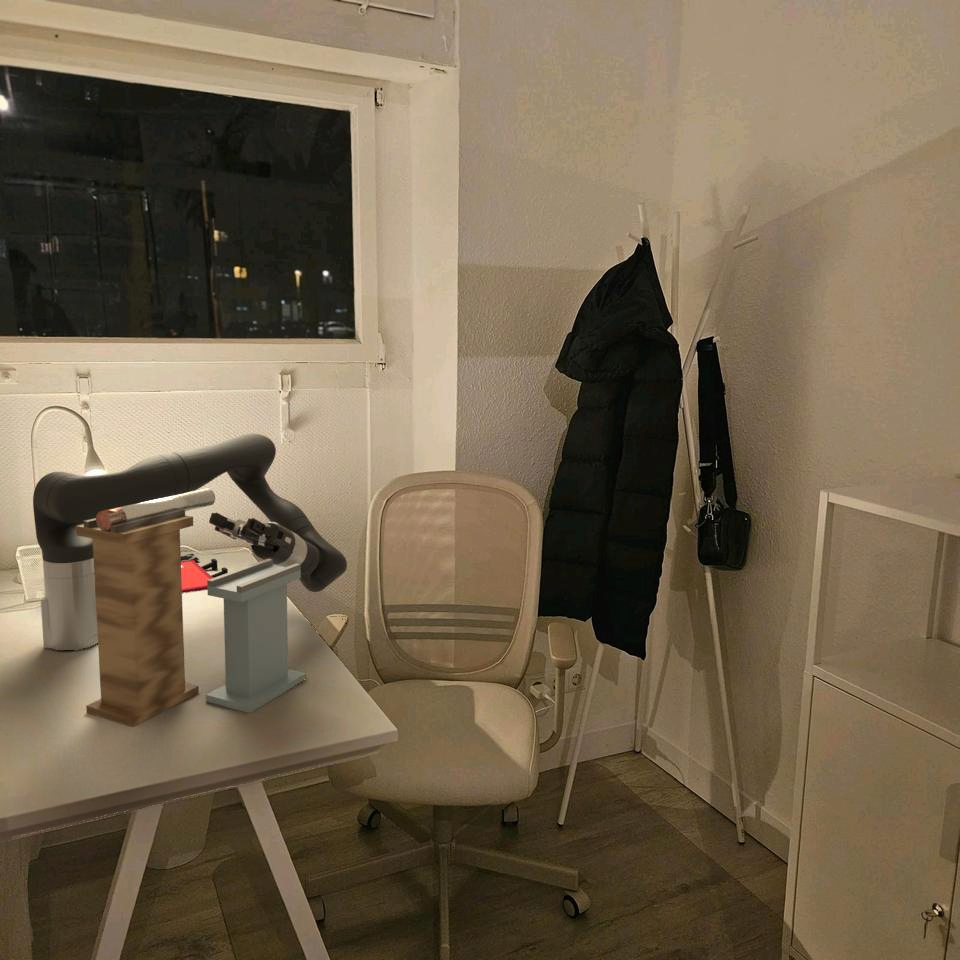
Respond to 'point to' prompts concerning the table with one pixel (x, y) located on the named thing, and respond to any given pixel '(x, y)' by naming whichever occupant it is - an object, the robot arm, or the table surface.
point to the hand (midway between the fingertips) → (230, 519)
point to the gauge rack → (255, 635)
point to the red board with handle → (196, 573)
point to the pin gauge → (155, 507)
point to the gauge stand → (139, 616)
